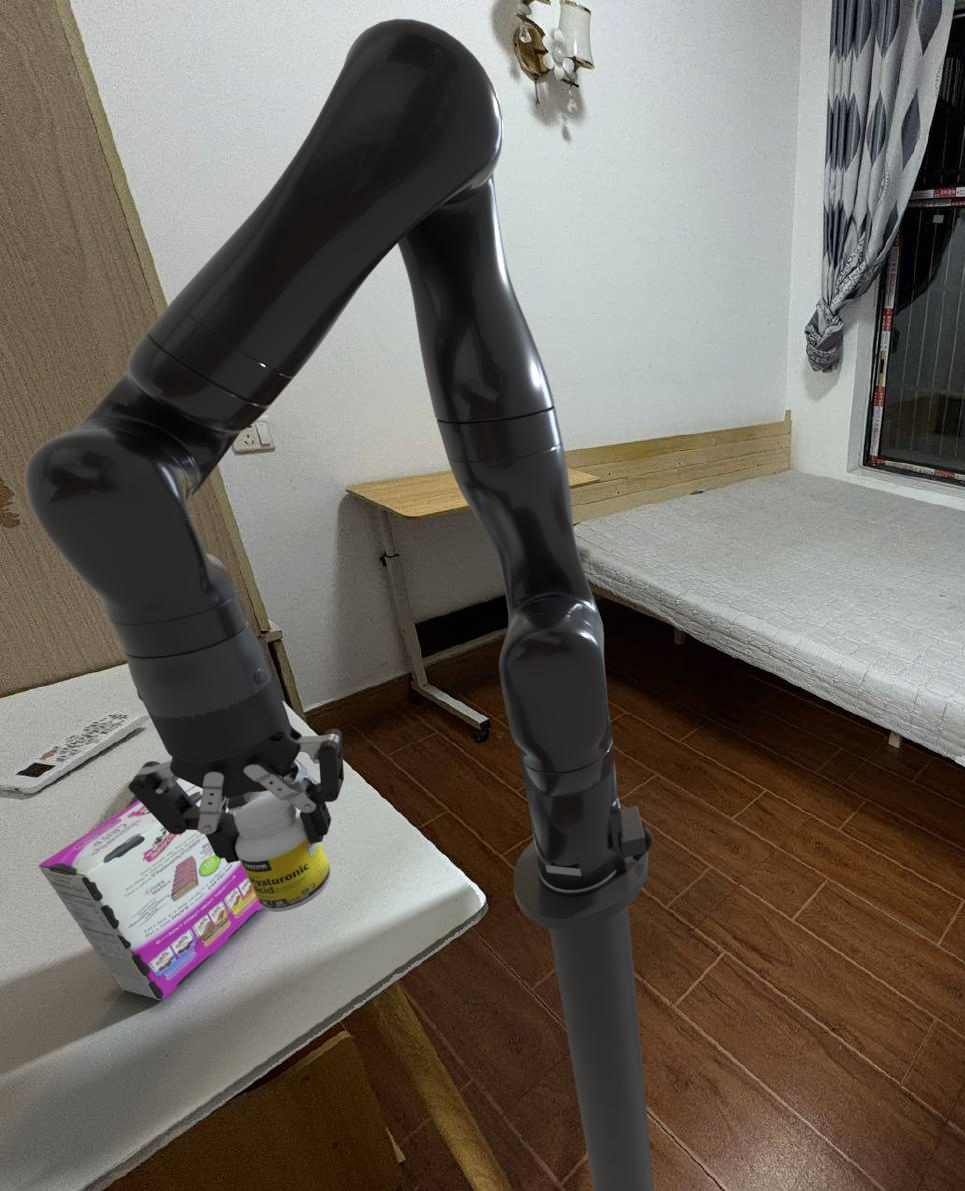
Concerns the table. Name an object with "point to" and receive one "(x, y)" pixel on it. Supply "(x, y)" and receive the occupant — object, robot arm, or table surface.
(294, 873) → the supplement bottle
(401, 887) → the table surface
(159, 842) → the candy bar box
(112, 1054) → the table surface
